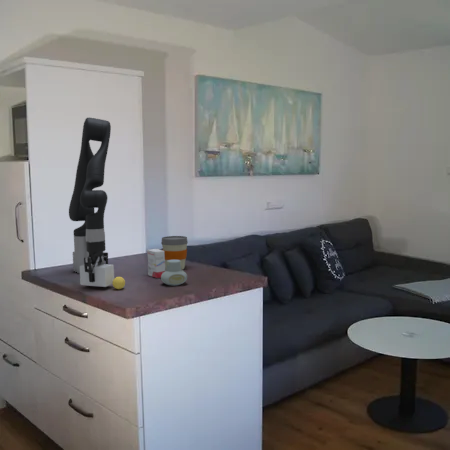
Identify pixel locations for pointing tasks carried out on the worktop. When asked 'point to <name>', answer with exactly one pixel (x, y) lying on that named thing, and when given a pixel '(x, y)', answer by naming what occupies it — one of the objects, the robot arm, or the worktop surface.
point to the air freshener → (174, 273)
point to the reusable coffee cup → (175, 249)
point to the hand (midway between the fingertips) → (97, 280)
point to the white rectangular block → (98, 275)
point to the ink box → (156, 262)
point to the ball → (118, 282)
